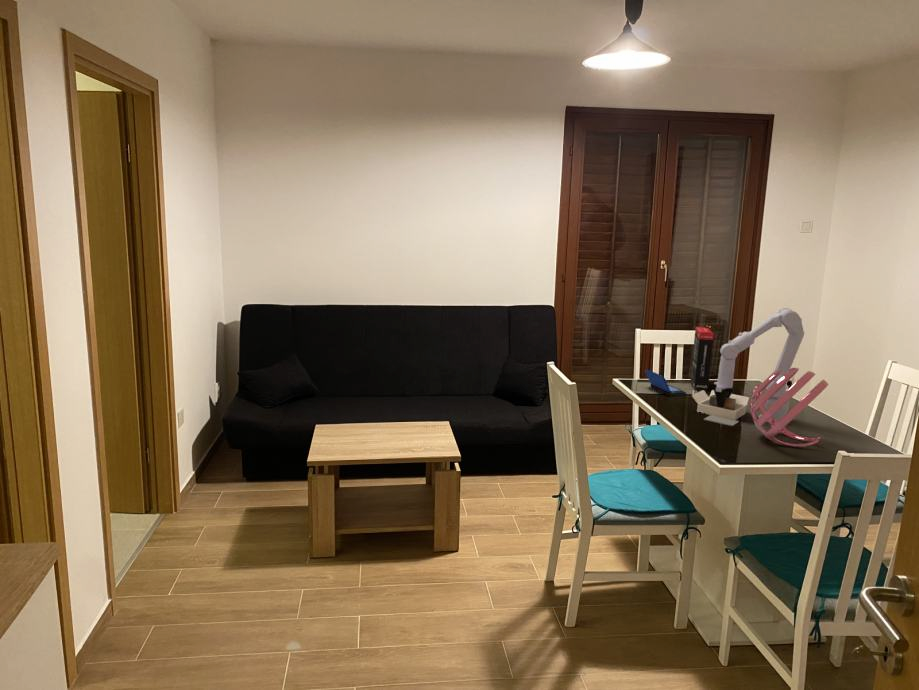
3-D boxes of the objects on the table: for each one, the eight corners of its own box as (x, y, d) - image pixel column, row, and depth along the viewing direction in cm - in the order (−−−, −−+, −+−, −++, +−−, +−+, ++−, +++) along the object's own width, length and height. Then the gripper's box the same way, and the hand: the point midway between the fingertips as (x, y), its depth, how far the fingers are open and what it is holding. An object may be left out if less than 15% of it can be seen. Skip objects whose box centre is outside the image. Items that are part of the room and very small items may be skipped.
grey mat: (738, 422, 266) (739, 421, 266) (732, 426, 260) (732, 425, 260) (710, 415, 273) (710, 414, 273) (703, 419, 267) (703, 418, 266)
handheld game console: (687, 396, 304) (689, 375, 302) (661, 396, 300) (663, 376, 298) (667, 387, 318) (669, 367, 317) (641, 387, 315) (644, 368, 313)
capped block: (734, 411, 277) (735, 399, 276) (731, 412, 273) (732, 400, 273) (712, 406, 282) (713, 394, 281) (708, 408, 279) (710, 396, 278)
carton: (754, 414, 279) (756, 398, 278) (742, 422, 267) (744, 406, 265) (703, 403, 292) (705, 388, 291) (689, 410, 279) (691, 395, 278)
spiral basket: (867, 395, 237) (802, 342, 247) (838, 428, 219) (769, 369, 229) (813, 441, 256) (755, 390, 266) (783, 474, 238) (722, 418, 248)
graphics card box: (708, 391, 312) (716, 333, 307) (692, 390, 314) (699, 331, 309) (703, 383, 329) (710, 327, 324) (688, 381, 330) (694, 326, 325)
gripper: (722, 369, 283) (718, 400, 285) (710, 374, 272) (705, 407, 274) (739, 372, 279) (735, 404, 281) (728, 377, 267) (723, 411, 270)
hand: (722, 406), depth 277 cm, fingers closed on capped block, 4 cm apart
